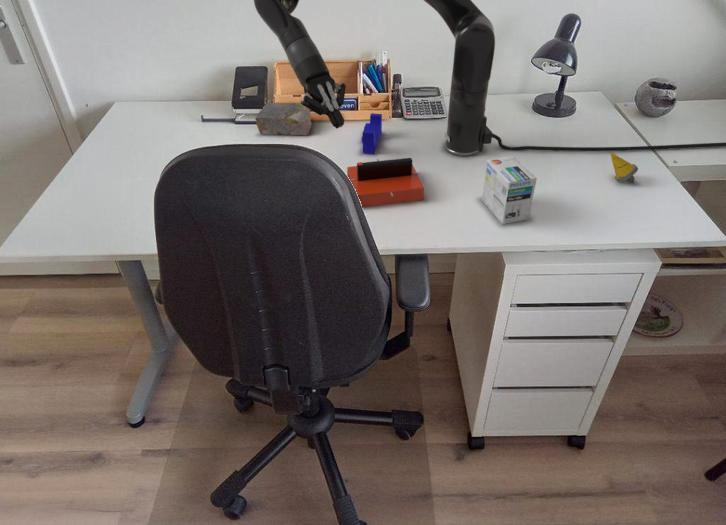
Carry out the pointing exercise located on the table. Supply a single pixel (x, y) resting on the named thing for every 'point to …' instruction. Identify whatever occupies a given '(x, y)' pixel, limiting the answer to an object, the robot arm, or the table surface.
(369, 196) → the red flat rectangular block
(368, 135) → the cable clip
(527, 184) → the light bulb box
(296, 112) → the geological specimen
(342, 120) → the robot arm
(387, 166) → the black divider wall
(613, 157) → the yellow cone
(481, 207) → the table surface
